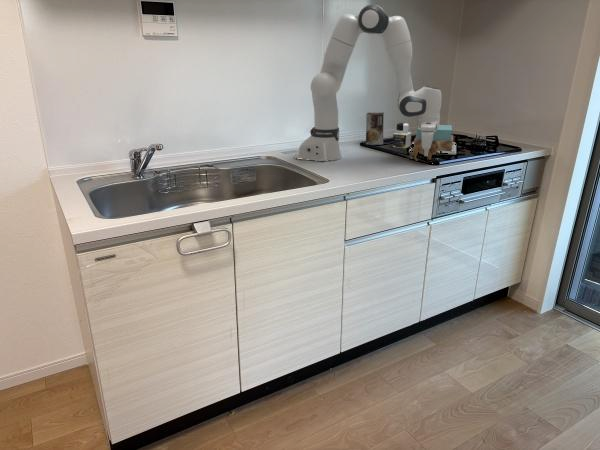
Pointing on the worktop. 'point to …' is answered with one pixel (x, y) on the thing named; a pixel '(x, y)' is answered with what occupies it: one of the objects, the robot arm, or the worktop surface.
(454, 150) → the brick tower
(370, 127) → the coffee box
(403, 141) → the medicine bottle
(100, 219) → the worktop surface
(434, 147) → the lion figurine
